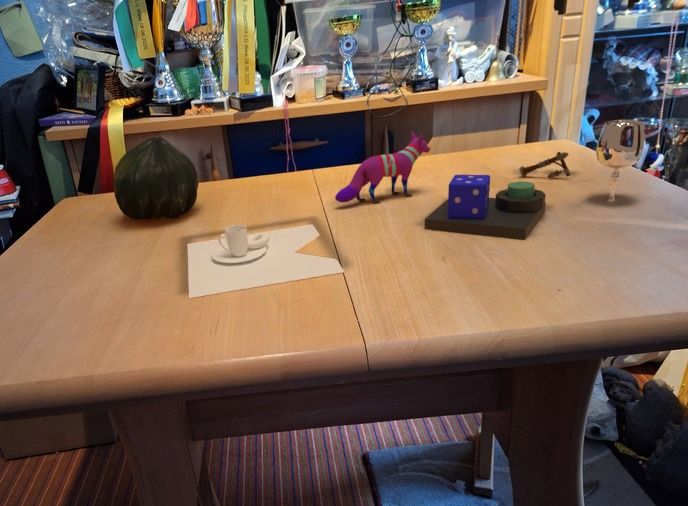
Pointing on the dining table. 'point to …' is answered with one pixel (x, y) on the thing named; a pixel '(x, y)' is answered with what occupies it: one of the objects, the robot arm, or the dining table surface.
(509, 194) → the tare button
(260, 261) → the teacup and saucer
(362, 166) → the striped fox figurine
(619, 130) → the wineglass
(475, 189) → the die
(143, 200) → the squash
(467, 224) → the scale
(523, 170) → the wooden post with brackets
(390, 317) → the dining table surface
